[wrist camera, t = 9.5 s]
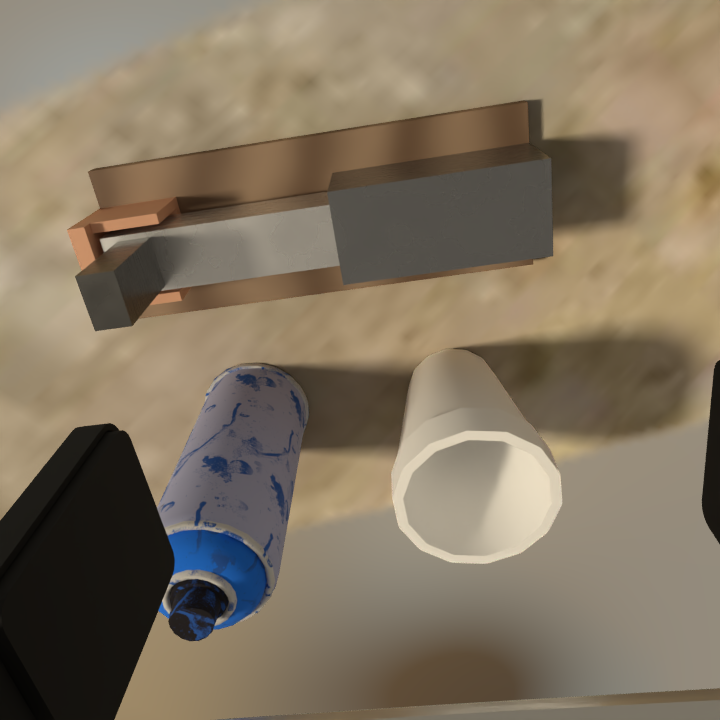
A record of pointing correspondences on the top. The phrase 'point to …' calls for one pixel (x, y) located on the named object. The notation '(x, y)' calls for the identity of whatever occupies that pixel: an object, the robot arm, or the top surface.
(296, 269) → the square sliding rod
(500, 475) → the foam cup
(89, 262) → the socket block
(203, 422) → the aerosol can
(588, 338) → the top surface
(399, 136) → the track board
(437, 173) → the outer sleeve
